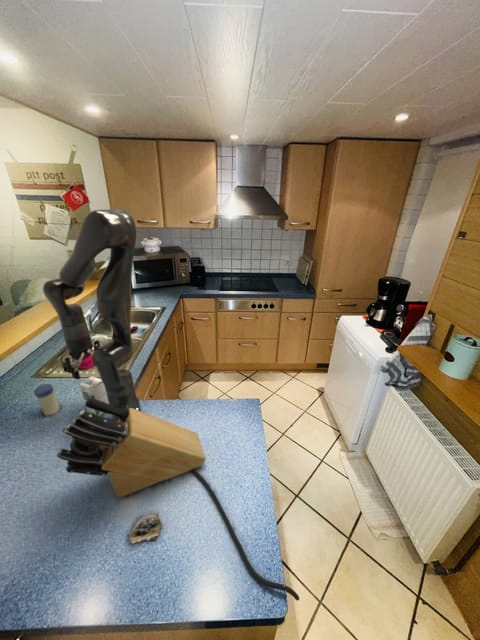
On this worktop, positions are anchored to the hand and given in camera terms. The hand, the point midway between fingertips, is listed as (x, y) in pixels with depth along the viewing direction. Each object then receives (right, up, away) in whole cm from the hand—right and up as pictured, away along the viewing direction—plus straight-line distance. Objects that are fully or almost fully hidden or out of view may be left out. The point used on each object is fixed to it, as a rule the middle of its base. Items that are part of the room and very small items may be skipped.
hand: (87, 371), depth 94 cm
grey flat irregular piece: (+33, -34, -30) cm, 57 cm away
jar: (-18, -17, +6) cm, 25 cm away
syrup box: (+1, -17, +6) cm, 18 cm away
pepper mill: (-20, -4, +33) cm, 39 cm away
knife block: (+28, -28, -16) cm, 43 cm away
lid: (-18, -7, +1) cm, 19 cm away
